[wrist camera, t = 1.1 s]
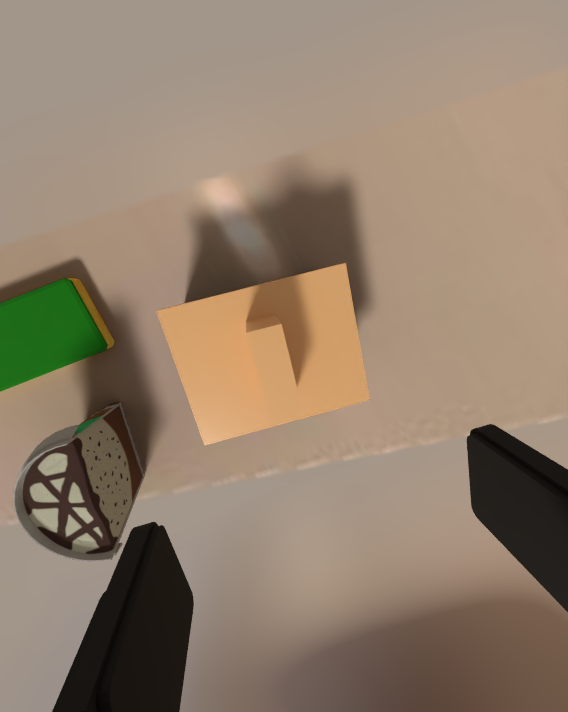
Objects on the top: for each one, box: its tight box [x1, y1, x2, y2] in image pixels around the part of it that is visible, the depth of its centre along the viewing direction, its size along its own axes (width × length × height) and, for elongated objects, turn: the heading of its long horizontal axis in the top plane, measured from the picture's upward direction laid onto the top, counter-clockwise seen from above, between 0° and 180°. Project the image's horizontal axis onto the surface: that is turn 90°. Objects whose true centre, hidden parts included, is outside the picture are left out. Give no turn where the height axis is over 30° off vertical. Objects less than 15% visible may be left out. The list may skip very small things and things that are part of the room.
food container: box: [13, 402, 144, 561], centre depth 30 cm, size 12×6×10 cm, turn 8°
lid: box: [157, 263, 370, 445], centre depth 25 cm, size 15×12×6 cm
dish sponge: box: [0, 278, 115, 391], centre depth 30 cm, size 7×14×2 cm, turn 110°
